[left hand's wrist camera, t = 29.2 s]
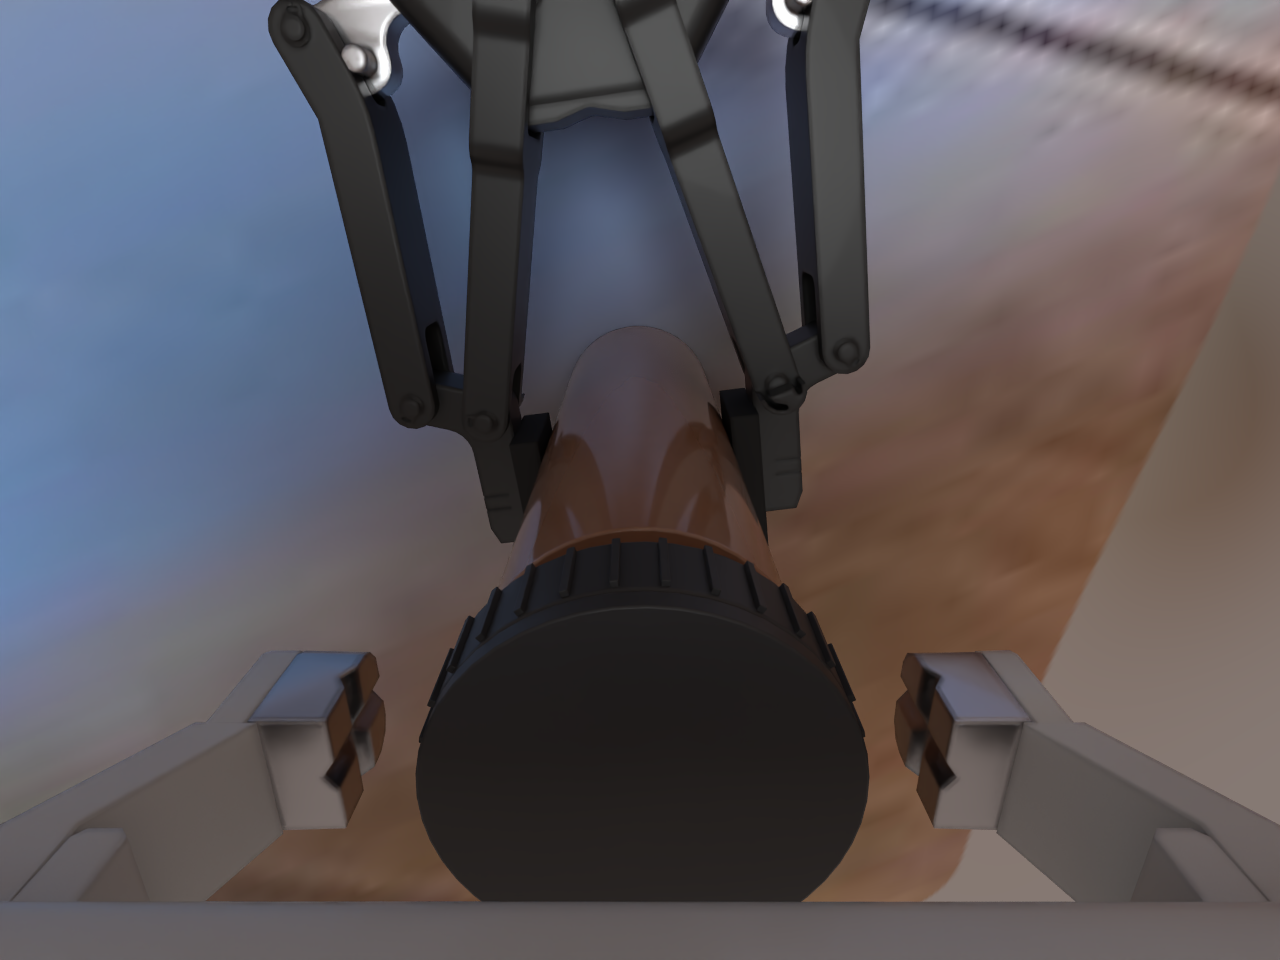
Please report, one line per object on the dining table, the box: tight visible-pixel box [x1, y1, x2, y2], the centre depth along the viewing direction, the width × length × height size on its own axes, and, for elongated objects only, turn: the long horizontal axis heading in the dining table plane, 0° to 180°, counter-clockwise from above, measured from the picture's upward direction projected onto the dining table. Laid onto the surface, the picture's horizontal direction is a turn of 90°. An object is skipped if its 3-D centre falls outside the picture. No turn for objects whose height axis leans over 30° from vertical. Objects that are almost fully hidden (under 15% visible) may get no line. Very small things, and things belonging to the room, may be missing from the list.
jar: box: [499, 326, 782, 590], centre depth 18 cm, size 5×5×18 cm
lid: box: [416, 537, 869, 902], centre depth 10 cm, size 6×6×2 cm
